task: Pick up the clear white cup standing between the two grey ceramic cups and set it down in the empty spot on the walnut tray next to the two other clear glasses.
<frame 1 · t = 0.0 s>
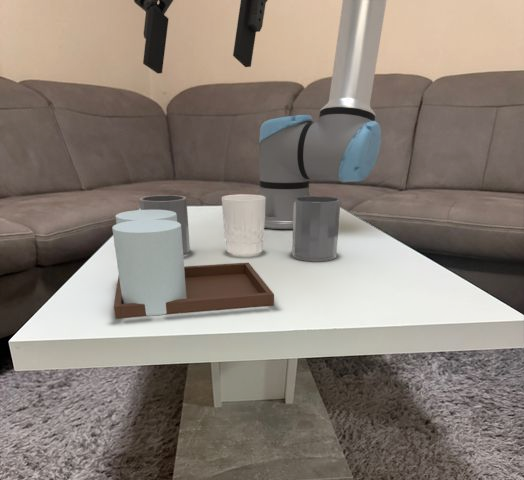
hand: (194, 65, 55), 28 cm above the table, tool tilted 20°, fingers open, 13 cm apart
glass c: (155, 304, 59), resting on tray
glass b: (153, 285, 66), resting on tray
white cup: (244, 254, 85), on the table
tray: (191, 295, 63), on the table
grey cup a: (168, 254, 84), on the table
grey cup b: (314, 255, 83), on the table
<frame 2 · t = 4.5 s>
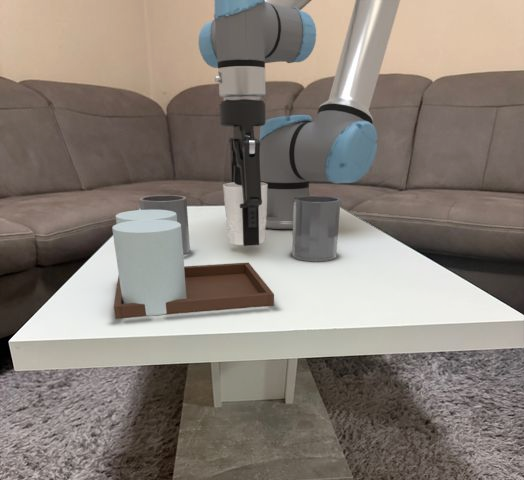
hand: (246, 239, 85), 2 cm above the table, tool pointing down, fingers closed on white cup, 8 cm apart
white cup: (247, 242, 85), point 2 cm above the table, touching gripper
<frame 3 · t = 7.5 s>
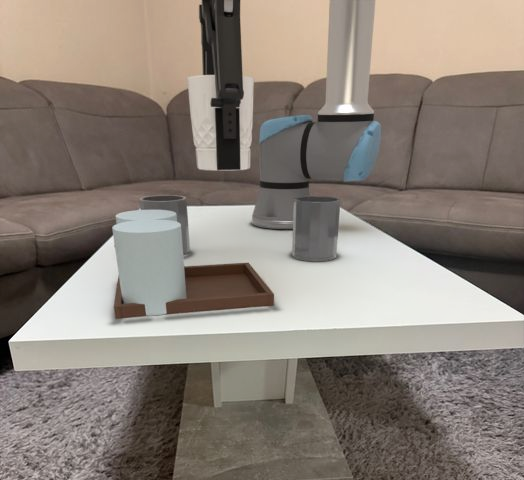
hand: (223, 166, 58), 17 cm above the table, tool pointing down, fingers closed on white cup, 8 cm apart
white cup: (223, 170, 58), point 16 cm above the table, touching gripper
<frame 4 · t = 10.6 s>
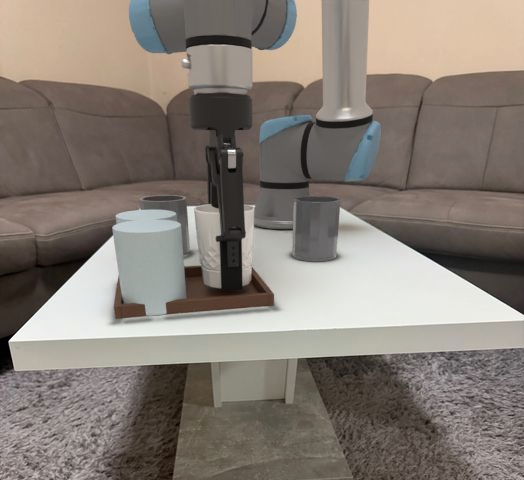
hand: (226, 280, 64), 2 cm above the table, tool pointing down, fingers closed on white cup, 8 cm apart
white cup: (227, 283, 64), point 1 cm above the table, touching gripper
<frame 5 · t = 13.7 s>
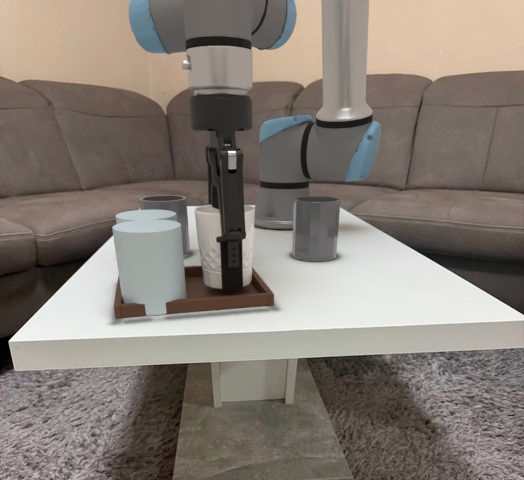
hand: (227, 280, 64), 2 cm above the table, tool pointing down, fingers closed on white cup, 8 cm apart
white cup: (227, 283, 64), point 1 cm above the table, touching gripper
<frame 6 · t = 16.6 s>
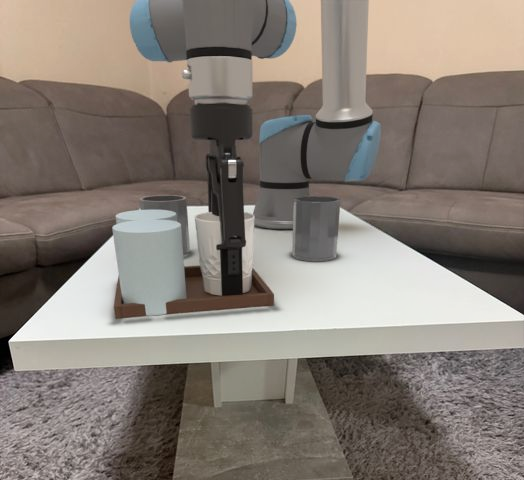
hand: (227, 287, 64), 1 cm above the table, tool pointing down, fingers closed on white cup, 8 cm apart
white cup: (227, 290, 64), resting on tray, touching gripper
when the fingers open (2 cm above the table, at t = 18.1 s): white cup drops 1 cm, resting on tray.
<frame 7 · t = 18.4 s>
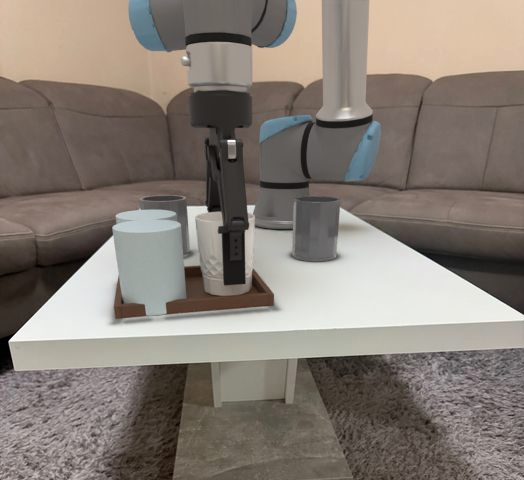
hand: (226, 270, 63), 3 cm above the table, tool pointing down, fingers open, 12 cm apart
white cup: (227, 290, 64), resting on tray
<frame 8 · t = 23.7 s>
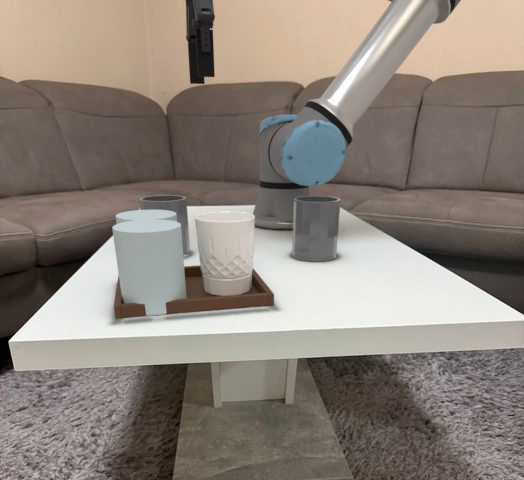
hand: (201, 80, 82), 29 cm above the table, tool pointing down, fingers open, 13 cm apart
nothing on the table moved.
at the end: white cup inside the target area in the tray (0.1 cm from its centre), point 0.4 cm above the tray's base; white cup tilted 0°; the gripper is holding nothing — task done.
